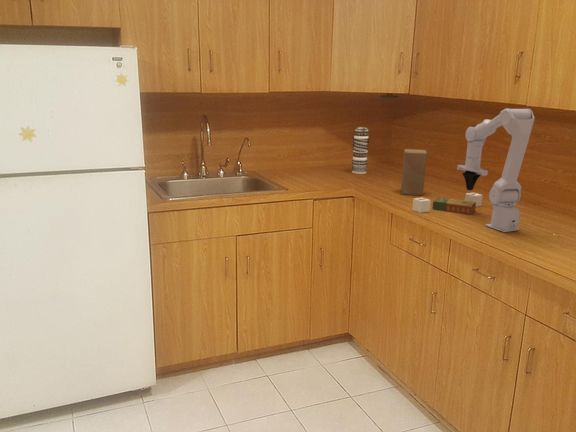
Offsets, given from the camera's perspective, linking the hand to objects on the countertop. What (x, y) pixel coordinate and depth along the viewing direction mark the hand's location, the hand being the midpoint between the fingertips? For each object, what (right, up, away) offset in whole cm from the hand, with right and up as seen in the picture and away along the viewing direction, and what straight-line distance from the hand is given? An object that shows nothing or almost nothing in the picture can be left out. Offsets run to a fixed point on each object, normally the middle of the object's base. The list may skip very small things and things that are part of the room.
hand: (469, 189), depth 221 cm
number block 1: (-19, -9, +3) cm, 21 cm away
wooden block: (-16, 0, +35) cm, 38 cm away
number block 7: (+6, -6, +14) cm, 16 cm away
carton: (-5, -9, +5) cm, 11 cm away
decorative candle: (-35, +14, +81) cm, 89 cm away
